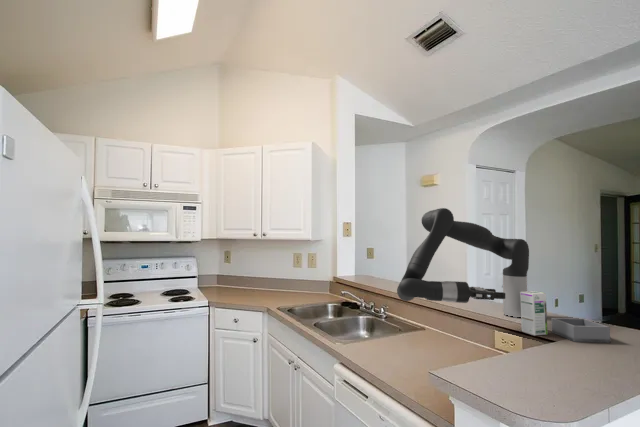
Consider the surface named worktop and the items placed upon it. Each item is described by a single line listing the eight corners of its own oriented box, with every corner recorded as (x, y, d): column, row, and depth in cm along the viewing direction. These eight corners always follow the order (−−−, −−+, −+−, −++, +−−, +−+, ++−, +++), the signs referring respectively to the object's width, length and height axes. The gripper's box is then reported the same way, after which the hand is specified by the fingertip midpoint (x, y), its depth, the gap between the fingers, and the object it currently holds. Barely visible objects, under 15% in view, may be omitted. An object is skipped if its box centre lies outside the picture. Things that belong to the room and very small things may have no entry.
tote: (551, 332, 126) (551, 318, 127) (584, 332, 126) (584, 318, 126) (573, 341, 115) (573, 326, 115) (610, 342, 115) (609, 327, 115)
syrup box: (534, 335, 121) (533, 293, 122) (520, 331, 127) (519, 290, 128) (547, 334, 123) (546, 292, 124) (533, 330, 128) (532, 290, 129)
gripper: (459, 283, 122) (508, 285, 120) (448, 279, 136) (492, 281, 134) (459, 305, 121) (508, 308, 119) (448, 299, 135) (492, 301, 133)
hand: (500, 293), depth 127 cm, fingers open, 8 cm apart
